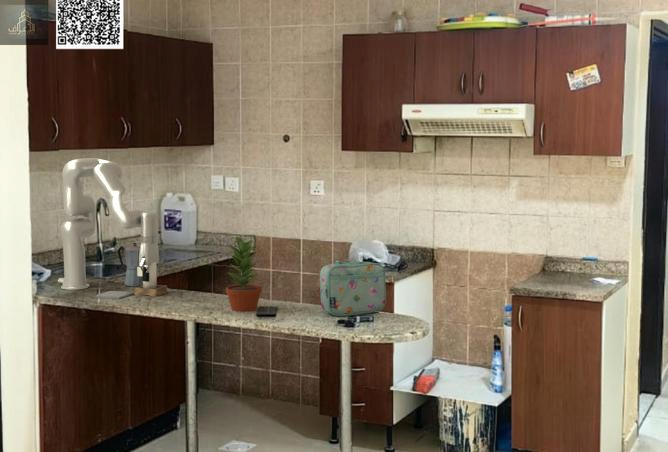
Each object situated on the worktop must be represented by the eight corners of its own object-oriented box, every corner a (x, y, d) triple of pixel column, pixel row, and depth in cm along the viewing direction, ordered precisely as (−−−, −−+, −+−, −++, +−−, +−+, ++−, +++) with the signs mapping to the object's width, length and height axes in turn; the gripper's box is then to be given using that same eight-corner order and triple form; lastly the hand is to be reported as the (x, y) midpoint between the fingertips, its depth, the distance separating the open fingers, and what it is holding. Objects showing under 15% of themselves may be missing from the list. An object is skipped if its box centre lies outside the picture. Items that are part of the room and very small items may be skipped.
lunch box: (326, 318, 385) (326, 264, 383) (316, 314, 395) (316, 260, 392) (388, 313, 396) (388, 259, 393) (376, 308, 405) (376, 256, 403)
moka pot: (144, 287, 456) (143, 244, 454) (113, 286, 460) (112, 243, 457) (152, 284, 466) (151, 241, 463) (121, 283, 469) (120, 241, 467)
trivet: (95, 297, 433) (95, 295, 433) (110, 292, 444) (110, 290, 444) (119, 298, 429) (119, 297, 429) (133, 294, 440) (133, 292, 440)
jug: (134, 289, 440) (134, 262, 438) (141, 286, 445) (141, 260, 444) (152, 290, 437) (152, 263, 435) (159, 288, 442) (158, 261, 441)
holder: (134, 295, 437) (134, 288, 437) (146, 291, 447) (146, 284, 447) (155, 296, 434) (155, 289, 434) (167, 292, 444) (167, 285, 443)
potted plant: (249, 314, 395) (247, 239, 391) (219, 310, 403) (217, 236, 399) (270, 307, 407) (270, 235, 404) (241, 304, 415) (240, 232, 412)
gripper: (151, 237, 447) (151, 276, 449) (131, 241, 431) (132, 282, 433) (166, 238, 445) (166, 277, 447) (147, 242, 429) (147, 284, 431)
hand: (149, 279), depth 440 cm, fingers closed on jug, 6 cm apart
